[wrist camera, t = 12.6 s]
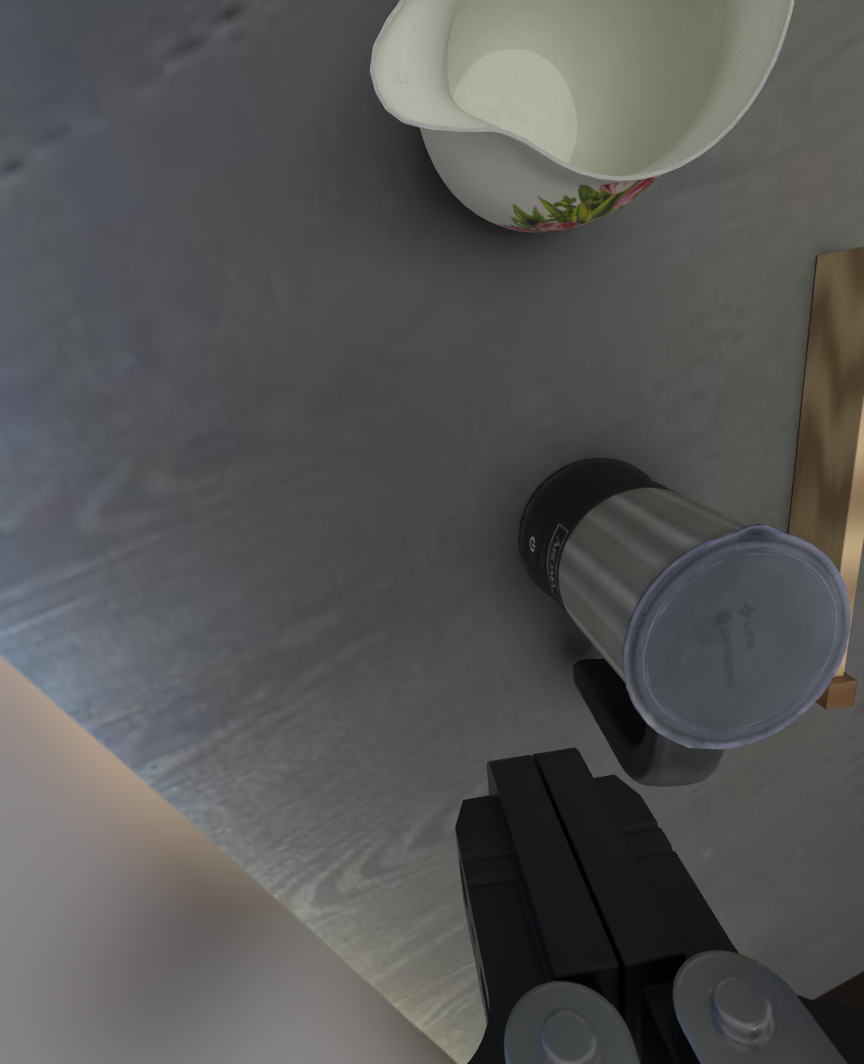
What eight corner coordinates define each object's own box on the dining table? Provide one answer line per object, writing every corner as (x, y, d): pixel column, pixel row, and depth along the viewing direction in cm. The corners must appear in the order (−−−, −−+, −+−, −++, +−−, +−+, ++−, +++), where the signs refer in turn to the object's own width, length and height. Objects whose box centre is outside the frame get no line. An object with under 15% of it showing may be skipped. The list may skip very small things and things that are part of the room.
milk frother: (502, 479, 35) (604, 574, 21) (758, 403, 35) (1024, 446, 21) (550, 682, 39) (659, 872, 25) (775, 613, 40) (1003, 760, 26)
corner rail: (579, 275, 32) (620, 264, 27) (841, 253, 33) (926, 238, 28) (583, 695, 40) (615, 744, 35) (794, 662, 42) (854, 706, 37)
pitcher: (725, 159, 31) (993, 30, 18) (410, 309, 31) (453, 287, 18) (666, -94, 28) (948, -480, 15) (311, 77, 28) (277, -154, 15)
